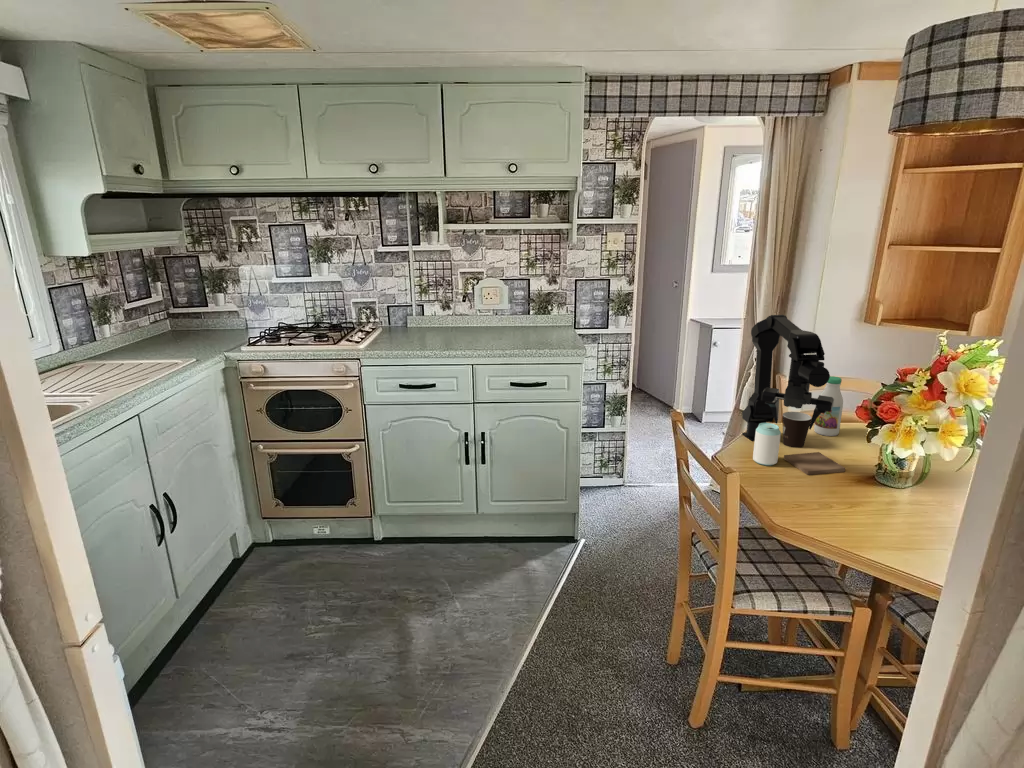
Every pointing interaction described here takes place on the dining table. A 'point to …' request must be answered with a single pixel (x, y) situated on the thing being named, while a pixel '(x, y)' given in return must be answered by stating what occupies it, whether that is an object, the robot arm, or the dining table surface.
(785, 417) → the coffee mug
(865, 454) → the dining table surface
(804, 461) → the base board
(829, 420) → the milk bottle
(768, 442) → the can
